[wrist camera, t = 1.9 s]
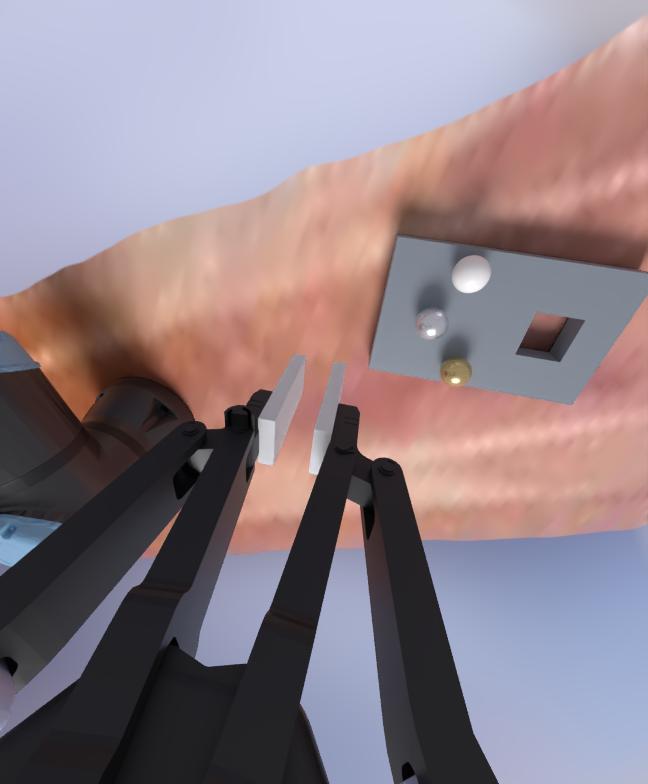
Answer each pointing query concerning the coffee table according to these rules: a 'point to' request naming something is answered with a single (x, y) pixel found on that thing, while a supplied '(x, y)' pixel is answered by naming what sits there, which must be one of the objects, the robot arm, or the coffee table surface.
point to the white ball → (471, 274)
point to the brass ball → (455, 371)
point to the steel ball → (431, 323)
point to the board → (503, 317)
